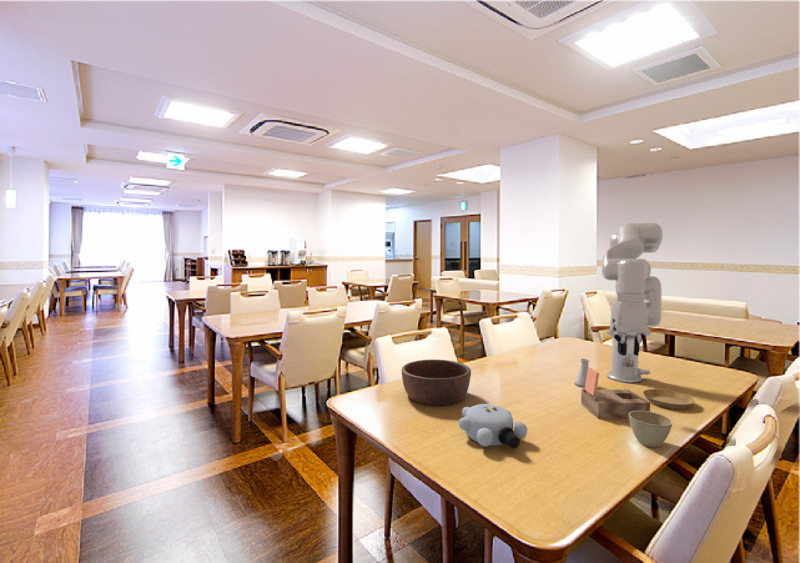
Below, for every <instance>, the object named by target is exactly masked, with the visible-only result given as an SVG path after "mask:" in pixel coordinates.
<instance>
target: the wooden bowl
mask: <svg viewBox="0 0 800 563" xmlns="http://www.w3.org/2000/svg"><path fill="white" fill-rule="evenodd" d="M471 370H472V369H471V367H470V366H467V365H466V364H464V363H461V362H458V361H454V360H447V359H421V360H414V361H411V362H408V363H406V364H404V365H403V366H402V367H401V370H400V371H401V379H402V384H403V388H404V390H405V393H406V394H407V396H408V397H409V399H410V400H412V401H414V402H416V403H418V402H419V404H421V403H422V404H421V405H426V404H427V405H428V406H436V405H440V406H449V405H454V404H456V403H459V402H461V401H462V400H463V399H464V398H465V397H466V394H467V392H468V391H469V387H470V383H471V375H472V371H471Z"/></svg>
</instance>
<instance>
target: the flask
mask: <svg viewBox="0 0 800 563" xmlns="http://www.w3.org/2000/svg"><path fill="white" fill-rule="evenodd" d="M579 360H580V368H579V371H578V373H577V376H576V379H575V381H574V383H573V384H574V385H576V386H578V387H582V388H585V384H586V378H587V371H588V368H590V367H589V362H590V359H588V358H580V359H579Z"/></svg>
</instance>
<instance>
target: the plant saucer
mask: <svg viewBox="0 0 800 563" xmlns="http://www.w3.org/2000/svg"><path fill="white" fill-rule="evenodd" d="M642 394H643V396H644V397H645V399H647V401H648V402H650V404H651V403H652V404H654V405H656V406H657V407H662V408H665V407H666V409H671V408H672V409H674V410H684V409H687V408H689V407H691V406H692V405H693V404H694V403H695V401H696V400H695V399H694V398H693V397H692V396H689V395H687V394H685V393H681V392H679V391H678V392H677V391H673V390H667V389H661V388H651V389H650V388H649V389H644V390H643V391H642Z"/></svg>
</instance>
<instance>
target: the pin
mask: <svg viewBox="0 0 800 563" xmlns="http://www.w3.org/2000/svg"><path fill="white" fill-rule="evenodd" d="M635 336H637V333H636V332H629V333H627V334H625V341H624V343H625V344H626V355H625V356H623V355H622V365H623V366H626V367H634V354H635Z"/></svg>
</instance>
